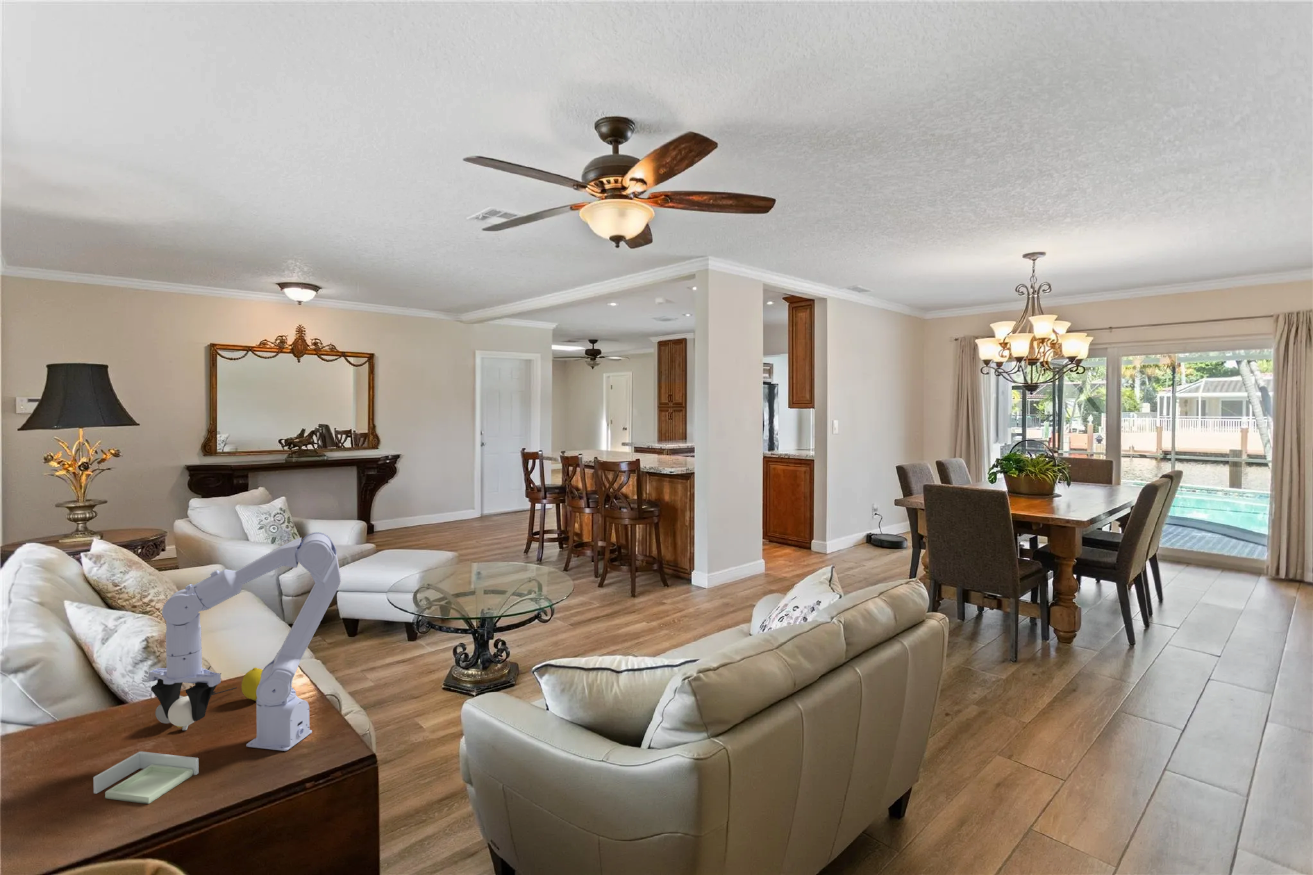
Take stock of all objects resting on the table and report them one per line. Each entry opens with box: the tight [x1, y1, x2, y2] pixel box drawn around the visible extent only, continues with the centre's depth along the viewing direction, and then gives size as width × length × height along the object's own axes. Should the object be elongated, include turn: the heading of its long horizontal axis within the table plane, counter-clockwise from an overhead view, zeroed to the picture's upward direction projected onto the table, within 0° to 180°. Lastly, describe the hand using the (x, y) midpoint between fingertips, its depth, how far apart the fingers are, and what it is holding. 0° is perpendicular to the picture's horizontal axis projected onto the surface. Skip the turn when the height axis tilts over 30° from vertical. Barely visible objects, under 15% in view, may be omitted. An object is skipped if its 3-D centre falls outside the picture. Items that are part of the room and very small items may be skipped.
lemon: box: [241, 667, 263, 702], centre depth 153 cm, size 6×6×8 cm
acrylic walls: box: [92, 750, 200, 794], centre depth 120 cm, size 13×9×3 cm
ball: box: [168, 695, 196, 727], centre depth 128 cm, size 6×6×6 cm
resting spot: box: [104, 764, 194, 805], centre depth 119 cm, size 9×9×1 cm
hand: (185, 717), depth 129 cm, fingers closed on ball, 6 cm apart
